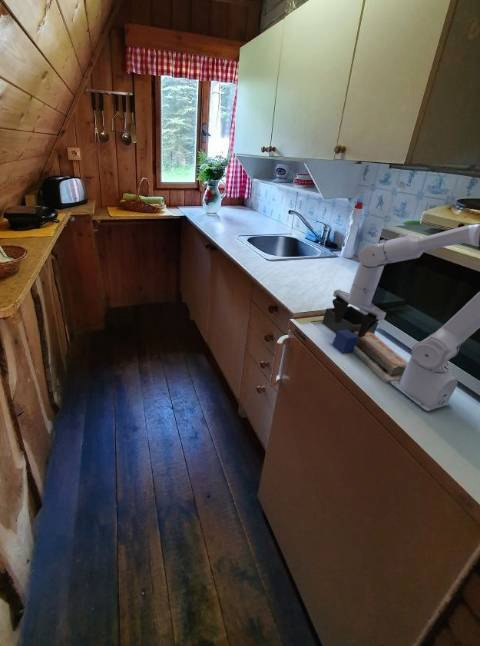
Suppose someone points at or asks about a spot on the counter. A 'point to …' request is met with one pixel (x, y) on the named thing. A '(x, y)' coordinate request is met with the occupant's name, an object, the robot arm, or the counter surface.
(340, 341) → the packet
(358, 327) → the waste bin
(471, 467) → the counter surface
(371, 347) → the packaged product
